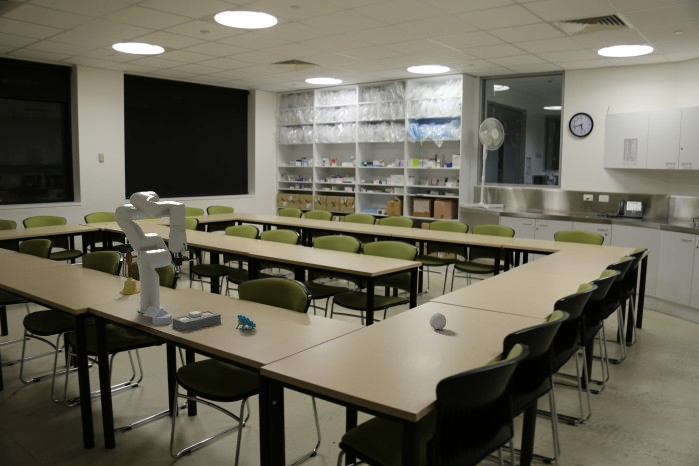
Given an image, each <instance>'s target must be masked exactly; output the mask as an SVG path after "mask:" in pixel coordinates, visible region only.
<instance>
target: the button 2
mask: <svg viewBox="0 0 699 466" xmlns="http://www.w3.org/2000/svg"><path fill="white" fill-rule="evenodd" d="M201 312H202V311H199V310H195V311H190V312H188V315H189V316H190V317H193V318H195V317H199V316H202V313H201Z"/></svg>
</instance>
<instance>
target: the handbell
mask: <svg viewBox="0 0 699 466" xmlns="http://www.w3.org/2000/svg"><path fill="white" fill-rule="evenodd" d="M125 261H126V264H127V265H126V266H127V279H125V280H124V282H123V288H122V289H121V290H120V291H119V294H120V295H136V294H140V288H138V286H137V281H136V279H134V278H133V277H132V276H133V273H132V272H133V271H132V268H133V267H132V264H133V254H132V251H131V250H126V255H125Z"/></svg>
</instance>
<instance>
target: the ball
mask: <svg viewBox="0 0 699 466" xmlns="http://www.w3.org/2000/svg"><path fill="white" fill-rule="evenodd" d="M429 325H430V326H431V328H432V329H433V330H436V329H440V330H442V329H444V328H445V327H446V326H447V318H446V316H445V315H444V314H443V313H441V312H436V313H432V315H431V316H430V317H429Z"/></svg>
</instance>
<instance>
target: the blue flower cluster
mask: <svg viewBox="0 0 699 466" xmlns="http://www.w3.org/2000/svg"><path fill="white" fill-rule="evenodd" d="M237 319H238V320H237V322H238V323H237V325H236V329H238V328H239V326H241V328H240V331H241V332H242V331H243V330H244V329H245V327H246V326H248V327H249V328H253V329H254V328H255V329H256V327H257V324H256V322H255V323H254V320H250V317H247V316H245V315H242V314H238V315H237Z"/></svg>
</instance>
